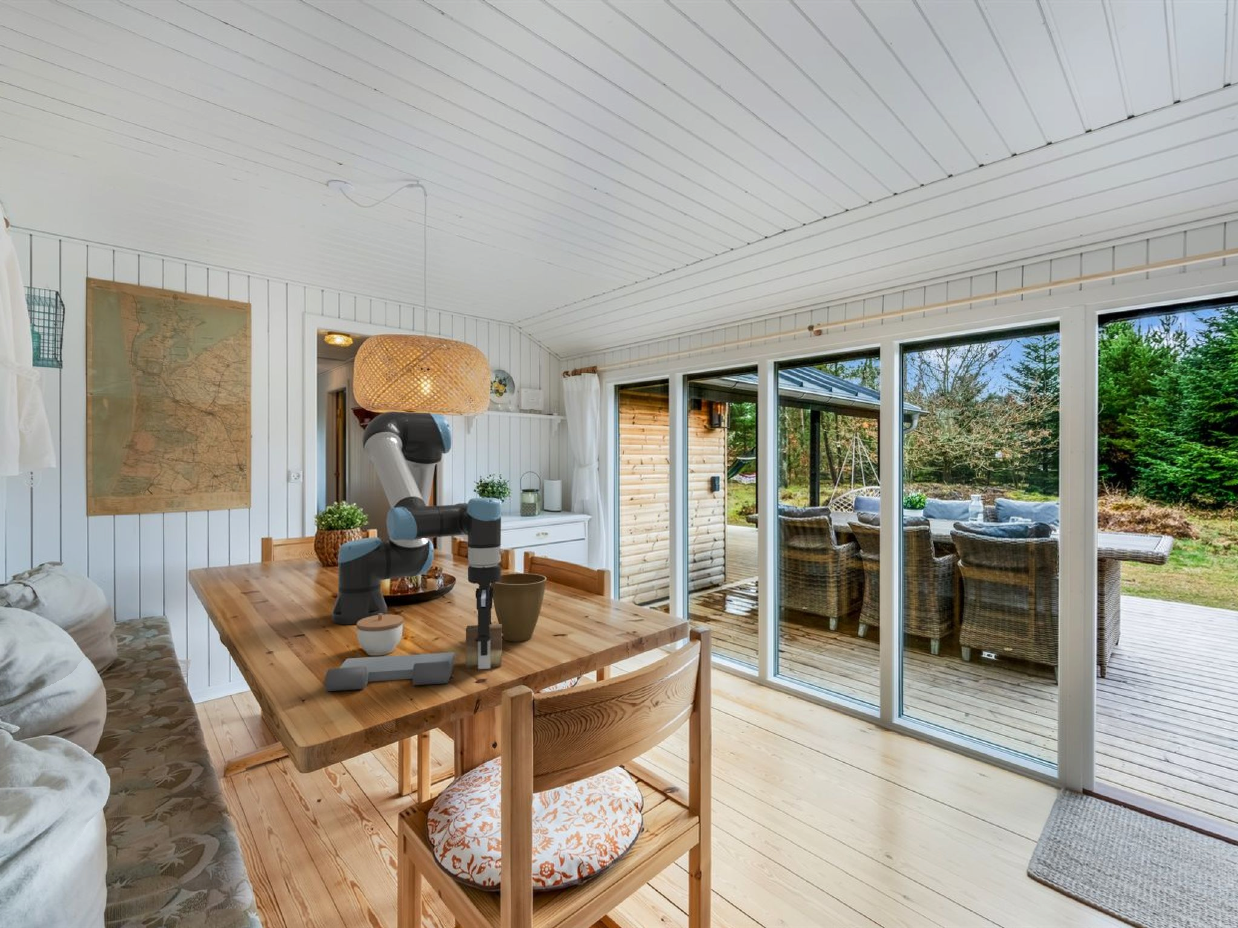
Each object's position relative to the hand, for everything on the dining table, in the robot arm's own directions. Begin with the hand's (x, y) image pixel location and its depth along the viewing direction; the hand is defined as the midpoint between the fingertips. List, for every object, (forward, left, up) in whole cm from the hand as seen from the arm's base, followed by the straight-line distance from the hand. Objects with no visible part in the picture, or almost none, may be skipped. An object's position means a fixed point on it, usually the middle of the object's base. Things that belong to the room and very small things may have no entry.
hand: (484, 663), depth 130 cm
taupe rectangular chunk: (0, 0, 0) cm, 0 cm away
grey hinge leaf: (+3, -19, 0) cm, 20 cm away
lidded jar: (-14, -26, -1) cm, 30 cm away
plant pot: (-19, +8, -1) cm, 21 cm away
